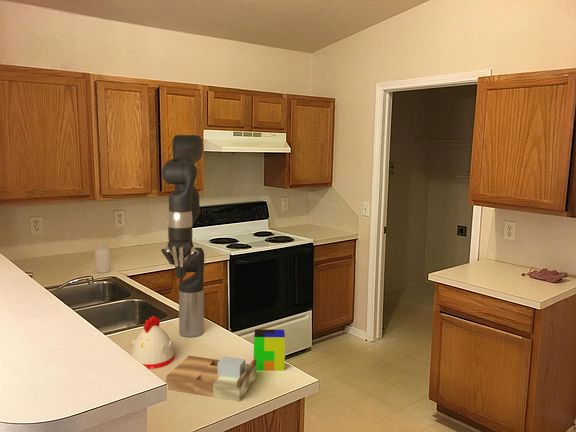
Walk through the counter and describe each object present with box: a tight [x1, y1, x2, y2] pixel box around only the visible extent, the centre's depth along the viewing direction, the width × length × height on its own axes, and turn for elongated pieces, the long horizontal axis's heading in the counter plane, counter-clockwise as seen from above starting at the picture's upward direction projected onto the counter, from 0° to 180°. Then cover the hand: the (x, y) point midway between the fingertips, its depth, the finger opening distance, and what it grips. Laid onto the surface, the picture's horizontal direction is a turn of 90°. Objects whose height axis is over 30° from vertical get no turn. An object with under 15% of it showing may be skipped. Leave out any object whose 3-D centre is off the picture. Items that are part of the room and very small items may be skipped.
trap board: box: [165, 355, 257, 402], centre depth 146 cm, size 15×23×6 cm, turn 75°
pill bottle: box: [94, 243, 112, 274], centre depth 268 cm, size 8×8×15 cm
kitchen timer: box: [130, 315, 175, 370], centre depth 160 cm, size 14×14×15 cm
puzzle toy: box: [253, 328, 286, 372], centre depth 160 cm, size 10×10×10 cm
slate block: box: [218, 355, 246, 378], centre depth 144 cm, size 4×7×4 cm, turn 75°
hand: (180, 277), depth 156 cm, fingers closed
